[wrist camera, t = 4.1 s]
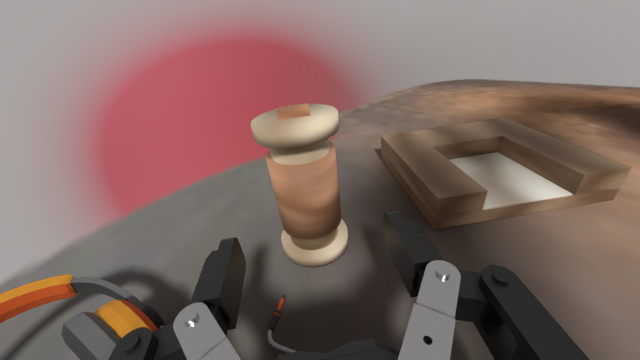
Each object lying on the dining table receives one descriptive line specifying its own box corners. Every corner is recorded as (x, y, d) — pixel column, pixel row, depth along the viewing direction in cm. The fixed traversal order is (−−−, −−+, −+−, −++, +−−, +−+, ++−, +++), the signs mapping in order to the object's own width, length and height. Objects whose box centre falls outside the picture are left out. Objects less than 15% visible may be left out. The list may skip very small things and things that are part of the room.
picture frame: (497, 140, 34) (503, 117, 32) (613, 199, 22) (631, 167, 20) (381, 159, 33) (381, 136, 32) (433, 229, 21) (438, 198, 20)
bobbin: (341, 215, 24) (330, 91, 19) (354, 260, 20) (344, 112, 14) (283, 225, 24) (253, 102, 18) (283, 272, 19) (241, 127, 14)
